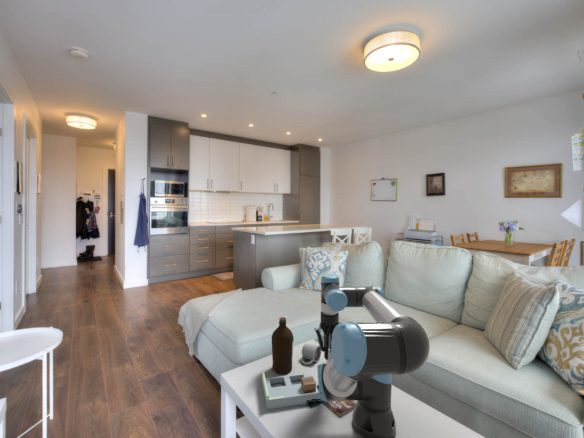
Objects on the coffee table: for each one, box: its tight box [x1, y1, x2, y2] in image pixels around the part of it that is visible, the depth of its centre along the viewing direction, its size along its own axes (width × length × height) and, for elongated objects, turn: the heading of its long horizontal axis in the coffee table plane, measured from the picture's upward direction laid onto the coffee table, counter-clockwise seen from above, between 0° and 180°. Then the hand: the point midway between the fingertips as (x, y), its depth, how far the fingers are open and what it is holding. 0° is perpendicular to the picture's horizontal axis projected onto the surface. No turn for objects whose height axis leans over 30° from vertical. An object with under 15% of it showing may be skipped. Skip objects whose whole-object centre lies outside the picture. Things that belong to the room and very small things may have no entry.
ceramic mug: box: [301, 343, 322, 366], centre depth 145 cm, size 11×8×8 cm
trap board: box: [261, 371, 320, 411], centre depth 120 cm, size 16×22×6 cm
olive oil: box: [271, 316, 294, 375], centre depth 137 cm, size 11×11×25 cm
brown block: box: [301, 375, 317, 394], centre depth 118 cm, size 5×5×4 cm
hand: (328, 365), depth 120 cm, fingers closed
